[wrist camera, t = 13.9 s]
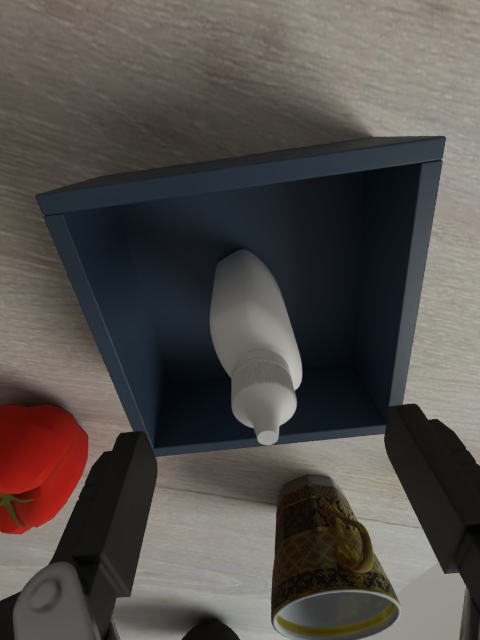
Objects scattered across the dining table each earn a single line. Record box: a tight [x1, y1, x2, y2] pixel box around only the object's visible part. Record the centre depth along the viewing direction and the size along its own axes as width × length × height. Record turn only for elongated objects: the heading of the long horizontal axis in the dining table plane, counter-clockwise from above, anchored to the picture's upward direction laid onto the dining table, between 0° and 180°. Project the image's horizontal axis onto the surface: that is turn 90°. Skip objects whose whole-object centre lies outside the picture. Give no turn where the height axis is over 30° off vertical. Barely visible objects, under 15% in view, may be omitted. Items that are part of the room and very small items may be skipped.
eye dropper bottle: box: [210, 249, 302, 445], centre depth 16 cm, size 4×6×12 cm
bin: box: [36, 136, 446, 457], centre depth 19 cm, size 16×16×7 cm
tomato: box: [0, 404, 88, 534], centre depth 25 cm, size 9×9×8 cm
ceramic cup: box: [271, 475, 401, 640], centre depth 28 cm, size 13×10×10 cm
